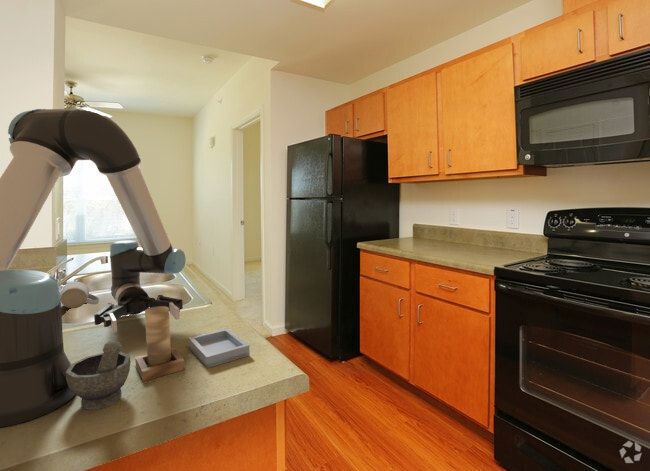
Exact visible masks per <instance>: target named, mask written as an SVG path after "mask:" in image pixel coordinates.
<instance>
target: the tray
mask: <svg viewBox="0 0 650 471" xmlns="http://www.w3.org/2000/svg"><path fill="white" fill-rule="evenodd" d="M188 348H189V349H190V351H191V352H192V353H193V354H194V356H196V358H197V359H199V361H200V362H201V364H202V365H203V366H205V368H207V369H210V368H212V367H215V366H219V365H223V364H226V363H229V362H232V361H237V360H239V359H240V360H241V359H243V358H246V357H250V344H248V343H247V342H246V341H244V340H243V339H242V338H240V336H238V335H237V334H235V332H233V331H232V330H230V329H229V328H224V329H220V330H215V331H212V332H207V333H203V334H199V335H194V336H190V337H188Z"/></svg>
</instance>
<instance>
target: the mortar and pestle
mask: <svg viewBox="0 0 650 471" xmlns="http://www.w3.org/2000/svg"><path fill="white" fill-rule="evenodd" d="M122 348H123V346H122V344H121V343H120V342H118V341H116V340H113V341H108V342H106V343H105V344H104V345H103V347H102V353H97V354H92V355H89V356H86V357H83V358H81V359H80V360H77V361H75V362H73V363H71V365H70V367H69V368H68V370H67V371H66V380H67V384H68V387H69V388H70V389H71V391H72V392H73V393H74V394H75V395H76V396H78V397H79V398H81V401H80V404H81V407H82V408H84V409H85V410H99V409H102V408H106V407H110V406H111V405H114V403H116V402H117V401H119V400H121V396H122V387H123V386H124V385H125V384H126V381H127V379H128V376H129V373H130V370H131V355H129V354H127V353H125V352H122V351H121V350H122Z"/></svg>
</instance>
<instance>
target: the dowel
mask: <svg viewBox="0 0 650 471" xmlns="http://www.w3.org/2000/svg"><path fill="white" fill-rule="evenodd" d="M144 319H145V320H144V321H145V337H146V354H147V358H148V365H147V367H148V368H149V367H153V366H156V365H160V364H164V363H167V362H171V361H172V360H171V348H172V347H171V328H170V311H169V308H168V307H166V306H157V307H152V308H150V307H149V308H148V309H146V310H145V311H144Z"/></svg>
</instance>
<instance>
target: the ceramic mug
mask: <svg viewBox="0 0 650 471" xmlns="http://www.w3.org/2000/svg"><path fill="white" fill-rule="evenodd" d="M60 295H61V297H60V298H61V305H62V306H64V307H65V308H68V309H77V308H80V307H82V306H83V305H85V304H90V305H97V304H99V302H100V297H98V296H96V295H94V294H91V293H90V290H89V287H88V286H87V285H86V283H83V282H81V281H71V282H68V283H67V284H65V285H64V286H63V288H62V290H61V292H60Z"/></svg>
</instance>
